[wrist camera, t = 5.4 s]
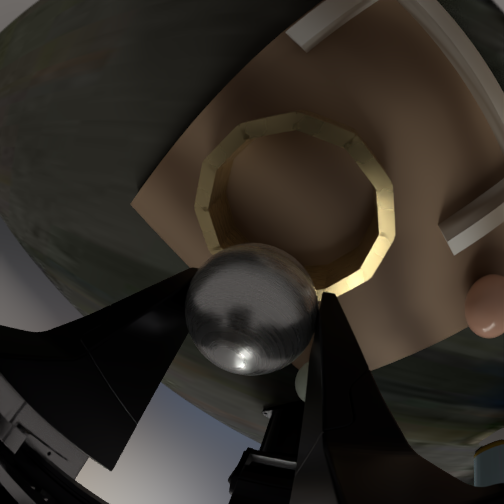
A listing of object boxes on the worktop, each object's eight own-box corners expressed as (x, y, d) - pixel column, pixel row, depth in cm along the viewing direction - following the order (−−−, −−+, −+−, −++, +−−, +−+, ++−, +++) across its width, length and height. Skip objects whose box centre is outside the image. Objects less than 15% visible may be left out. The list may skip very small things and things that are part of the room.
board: (321, 377, 25) (315, 405, 22) (139, 198, 20) (113, 215, 18) (543, 263, 12) (561, 288, 10) (378, -29, 8) (384, -53, 5)
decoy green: (317, 380, 23) (309, 418, 20) (290, 357, 23) (279, 396, 19) (356, 368, 21) (352, 408, 18) (330, 341, 20) (323, 384, 17)
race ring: (289, 298, 19) (281, 324, 17) (185, 190, 18) (164, 204, 15) (419, 222, 14) (429, 243, 12) (305, 74, 12) (297, 70, 10)
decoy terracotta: (466, 318, 16) (478, 359, 13) (450, 281, 15) (466, 324, 12) (509, 291, 14) (528, 330, 10) (498, 251, 13) (523, 289, 10)
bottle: (481, 444, 26) (480, 520, 14) (512, 434, 23) (515, 507, 11) (468, 457, 29) (465, 525, 17) (498, 449, 26) (498, 515, 14)
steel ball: (265, 327, 12) (233, 408, 8) (196, 259, 11) (138, 330, 8) (347, 286, 9) (338, 382, 6) (271, 196, 9) (220, 268, 5)
